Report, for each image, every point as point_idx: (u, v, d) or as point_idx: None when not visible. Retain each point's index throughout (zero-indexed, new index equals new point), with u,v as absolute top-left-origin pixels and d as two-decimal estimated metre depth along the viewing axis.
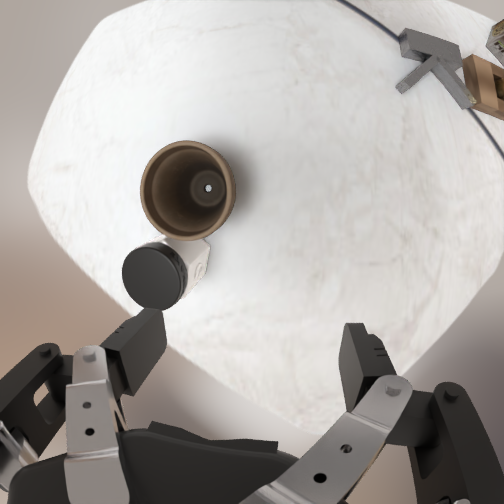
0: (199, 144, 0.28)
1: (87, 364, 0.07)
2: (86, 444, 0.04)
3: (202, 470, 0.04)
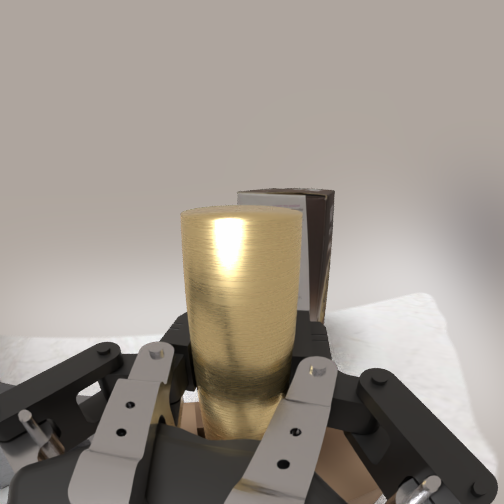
0: None
1: (158, 361, 0.08)
2: (112, 443, 0.04)
3: (202, 470, 0.04)
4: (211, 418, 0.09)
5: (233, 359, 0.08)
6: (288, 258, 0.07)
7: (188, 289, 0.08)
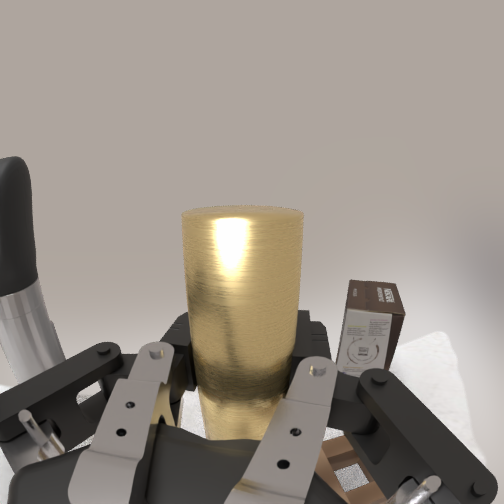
0: None
1: (158, 361, 0.08)
2: (112, 444, 0.04)
3: (202, 470, 0.04)
4: (212, 419, 0.09)
5: (234, 360, 0.08)
6: (289, 258, 0.07)
7: (189, 289, 0.08)
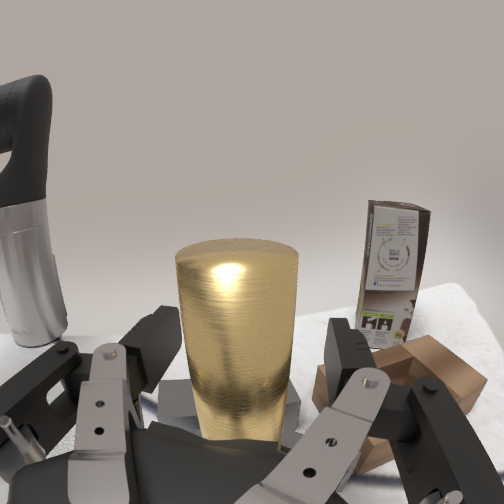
0: None
1: (108, 362, 0.07)
2: (94, 443, 0.04)
3: (202, 470, 0.04)
4: None
5: (230, 395, 0.08)
6: (283, 305, 0.07)
7: (186, 330, 0.08)
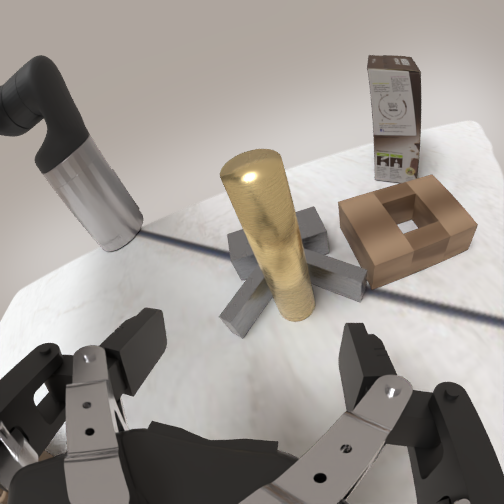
0: None
1: (87, 364, 0.07)
2: (86, 444, 0.04)
3: (202, 470, 0.04)
4: (262, 265, 0.20)
5: (263, 235, 0.17)
6: (277, 189, 0.15)
7: (235, 208, 0.16)
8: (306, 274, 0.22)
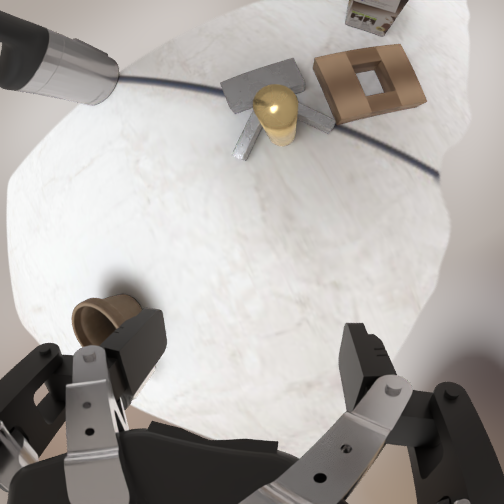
0: (90, 304, 0.35)
1: (87, 364, 0.07)
2: (86, 444, 0.04)
3: (202, 470, 0.04)
4: (270, 134, 0.27)
5: (278, 132, 0.24)
6: (293, 119, 0.21)
7: (261, 123, 0.22)
8: (295, 130, 0.29)
